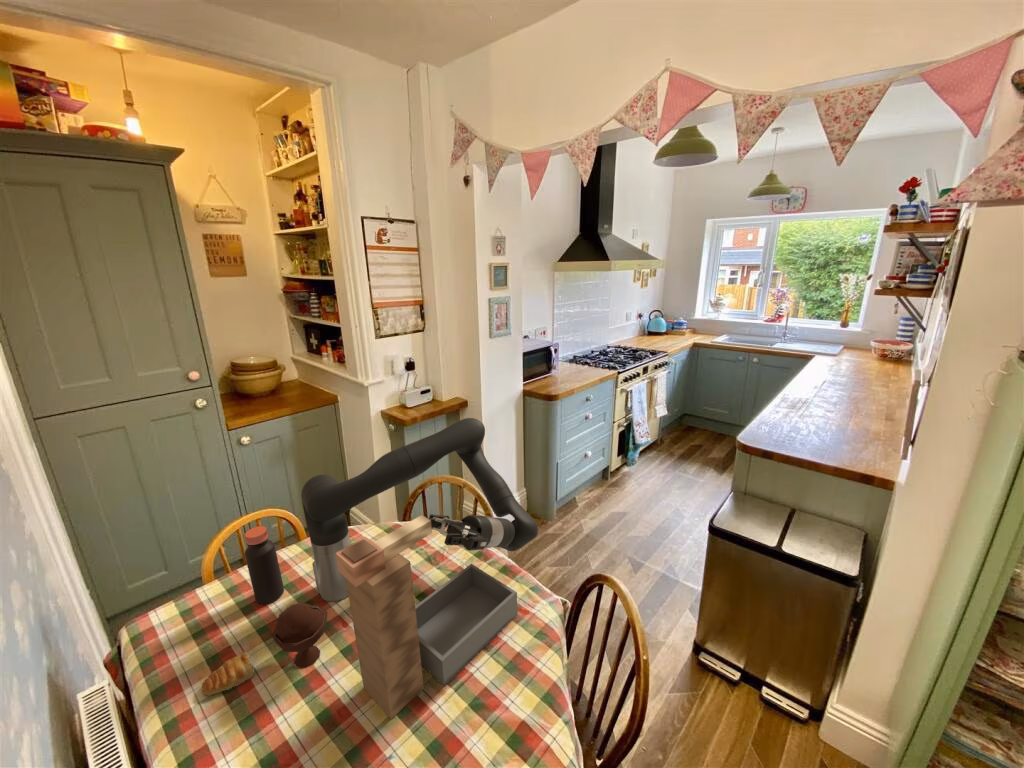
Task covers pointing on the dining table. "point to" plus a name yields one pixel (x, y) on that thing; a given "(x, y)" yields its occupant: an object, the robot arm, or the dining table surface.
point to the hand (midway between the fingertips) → (433, 531)
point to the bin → (462, 621)
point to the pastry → (229, 674)
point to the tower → (388, 635)
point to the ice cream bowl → (301, 632)
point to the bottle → (263, 566)
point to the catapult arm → (379, 551)
